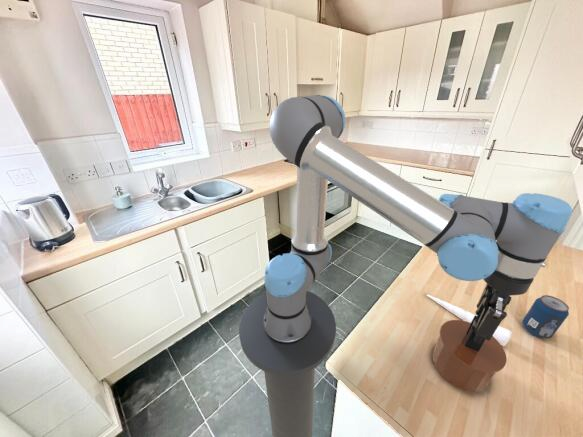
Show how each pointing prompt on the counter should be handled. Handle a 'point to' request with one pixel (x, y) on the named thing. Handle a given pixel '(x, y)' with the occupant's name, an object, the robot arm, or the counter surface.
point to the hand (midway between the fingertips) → (472, 341)
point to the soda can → (545, 316)
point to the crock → (459, 371)
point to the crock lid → (484, 361)
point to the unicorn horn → (500, 333)
